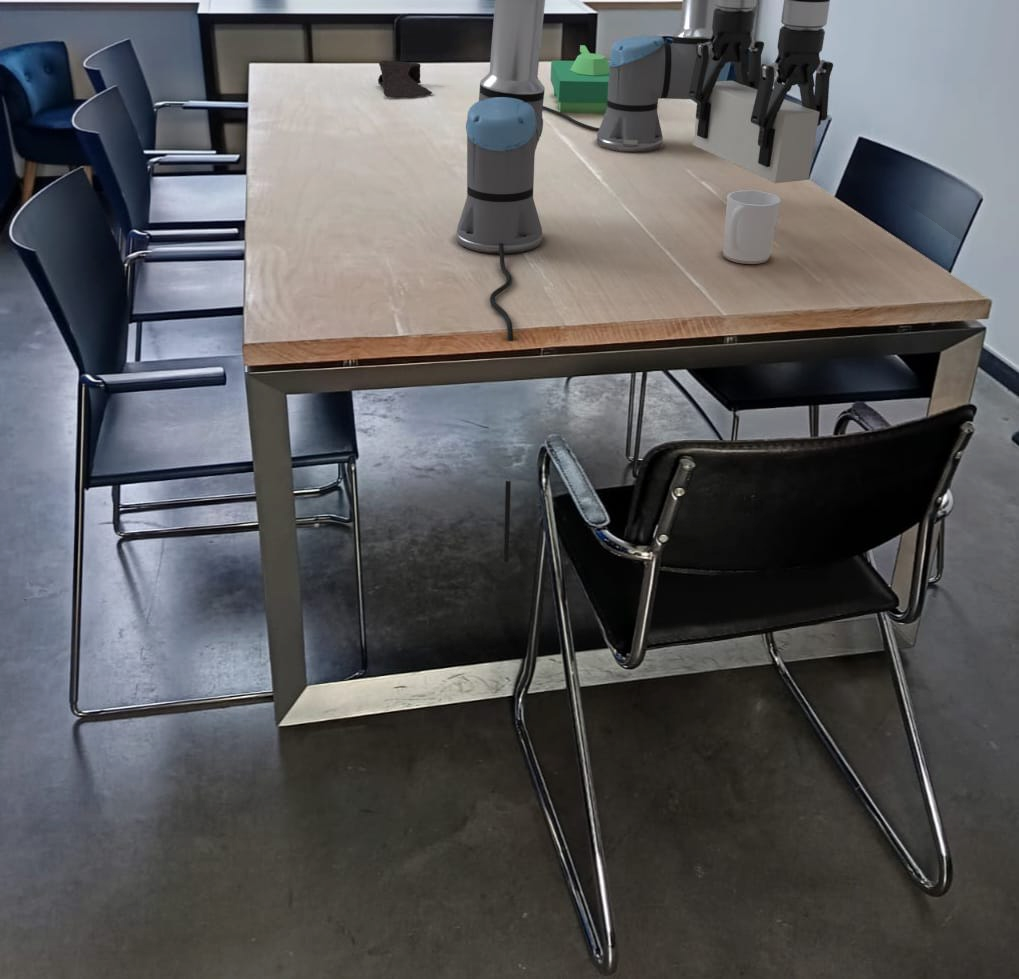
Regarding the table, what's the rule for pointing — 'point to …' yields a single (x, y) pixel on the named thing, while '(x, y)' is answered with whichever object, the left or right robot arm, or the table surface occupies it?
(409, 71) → the axe head
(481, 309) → the table surface
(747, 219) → the mug
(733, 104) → the box
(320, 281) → the table surface
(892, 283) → the table surface
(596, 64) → the toy tank
